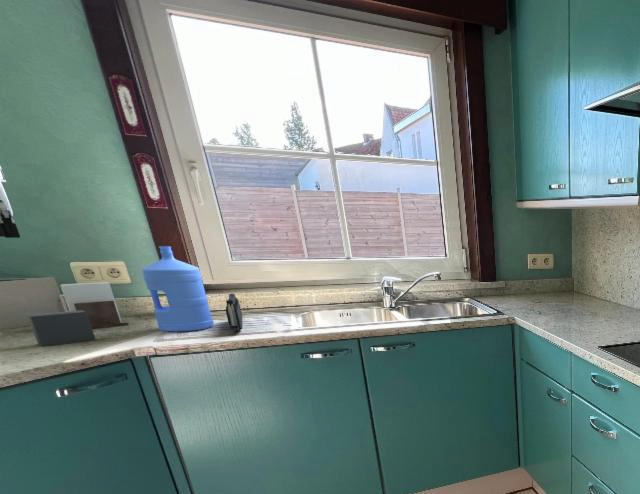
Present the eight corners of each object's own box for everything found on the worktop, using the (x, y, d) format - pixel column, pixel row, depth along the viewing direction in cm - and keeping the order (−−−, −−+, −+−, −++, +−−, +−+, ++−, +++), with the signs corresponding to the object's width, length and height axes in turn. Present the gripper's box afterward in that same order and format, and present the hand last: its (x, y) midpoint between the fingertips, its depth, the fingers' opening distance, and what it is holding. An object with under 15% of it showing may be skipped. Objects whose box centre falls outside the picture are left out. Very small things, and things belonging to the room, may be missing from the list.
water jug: (215, 322, 188) (195, 245, 177) (213, 330, 176) (191, 247, 165) (162, 325, 180) (138, 245, 169) (156, 333, 167) (130, 247, 157)
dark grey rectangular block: (42, 346, 148) (30, 316, 144) (38, 344, 150) (26, 314, 146) (96, 340, 157) (86, 311, 154) (91, 338, 159) (81, 310, 156)
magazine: (227, 296, 191) (218, 280, 166) (237, 295, 193) (230, 280, 168) (237, 340, 194) (230, 331, 168) (247, 339, 195) (241, 330, 170)
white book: (76, 326, 170) (61, 285, 165) (74, 325, 171) (59, 284, 166) (121, 321, 179) (109, 282, 174) (120, 321, 180) (107, 282, 175)
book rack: (75, 330, 168) (63, 298, 164) (65, 326, 174) (54, 294, 170) (128, 325, 179) (118, 294, 175) (117, 321, 185) (107, 291, 181)
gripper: (-40, 175, 147) (-16, 236, 153) (-29, 173, 138) (-4, 238, 144) (-2, 177, 152) (20, 236, 159) (11, 176, 144) (33, 238, 150)
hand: (9, 237), depth 151 cm, fingers open, 9 cm apart
